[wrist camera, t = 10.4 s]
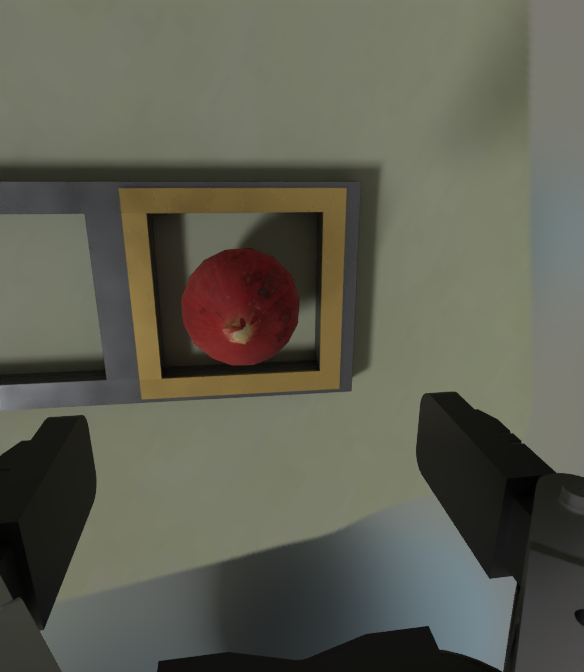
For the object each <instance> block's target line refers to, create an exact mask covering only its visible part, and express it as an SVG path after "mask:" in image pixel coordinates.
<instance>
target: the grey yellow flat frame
mask: <svg viewBox="0 0 584 672" xmlns="http://www.w3.org/2000/svg"><path fill="white" fill-rule="evenodd" d="M360 192H361V182H355V181H0V214H85V221H86V228H87V236H88V243H89V251H90V258H91V266H92V273H93V281H94V288H95V296H96V303H97V311H98V318H99V326H100V333H101V341H102V348H103V356H104V363H105V370H99V371H77V372H56V373H34V374H13V375H0V411H1V410H19V409H38V408H56V407H74V406H92V405H110V404H128V403H147V402H165V401H183V400H201V399H219V398H237V397H256V396H274V395H292V394H310V393H328V392H346V391H351V390H352V368H353V346H354V324H355V302H356V280H357V258H358V236H359V214H360ZM255 212H317V266H316V321H315V360H314V361H292V362H271V363H257V364H255V365H230V364H228V365H206V366H185V367H165V358H164V347H163V336H162V325H161V314H160V303H159V292H158V281H157V269H156V258H155V247H154V236H153V225H152V214H151V213H255Z"/></svg>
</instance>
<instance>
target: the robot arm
mask: <svg viewBox="0 0 584 672" xmlns="http://www.w3.org/2000/svg"><path fill="white" fill-rule="evenodd" d="M416 457H417V463H418V467H419V470H420V472H421V474H422V476H423V477H424V479H425V480H426V482H427V483H428V485H429V486H430V488H431V490H432V491H433V493H434V494H435V496H436V497H437V499H438V500H439V501H440V503H441V505H442V506H443V508H444V509H445V511H446V513H447V514H448V516H449V517H450V519H451V520H452V522H453V523H454V525H455V526H456V528H457V529H458V531H459V533H460V534H461V536H462V537H463V538H464V540H465V542H466V543H467V545H468V546H469V548H470V549H471V551H472V552H473V554H474V556H475V557H476V559H477V560H478V562H479V563H480V565H481V566H482V568H483V569H484V571H485V572H486V574H487V575H488V577H489V578H490V579H491V578H499V577H508V576H513V577H514V579H515V580H516V581H517V585H516V590H515V595H514V601H513V609H512V615H511V623H510V629H509V635H508V642H507V649H506V656H505V663H504V670H503V672H584V477H581V476H577V475H573V474H565V473H556V472H555V471H554V470H553V469H552V468H550V467H549V466H548V465H547V464H546V463H545V462H544V461H543V460H542V459H541V458H539V457H538V456H537V455H536V454H535V453H534V452H533V451H532V450H531V449H530V448H528V447H527V446H526V445H525V444H522V443H521V440H520V439H519V438H517V437H516V436H515V435H514V434H513V433H512V434H511V433H510V430H509V429H508V428H506V427H505V426H504V425H503V424H502V423H501V422H500V421H499V420H498V419H496V418H494V417H492V416H490V415H488V414H486V413H484V412H482V411H480V410H478V409H477V410H475V409H474V408H473V407H472V406H470V405H469V404H468V403H467V402H466V401H465V400H464V399H463V398H462V397H461V396H460V395H459V394H458V393H457V392H439V393H426V394H424V395H423V396H422V399H421V403H420V413H419V424H418V434H417V445H416ZM95 495H96V471H95V464H94V458H93V452H92V446H91V440H90V434H89V428H88V423H87V420H86V418H85V416H83V415H77V416H61V417H48V418H47V419H46V420H45V421H44V422H43V424H42V425H41V427H40V428H39V429H38V431H37V432H36V434H35V435H34V436H33V438H32V439H31V440H28V441H21V442H19V443H18V444H17V445H15V446H14V447H12V448H11V449H9V450H8V451H6V452H5V453H3V454H2V455H1V456H0V672H62V671H61V669H60V668H59V666H58V664H57V662H56V660H55V658H54V657H53V655H52V653H51V651H50V649H49V647H48V646H47V644H46V642H45V640H44V638H43V636H42V635H41V633H40V631H39V630H44V628H45V626H46V623H47V620H48V618H49V615H50V613H51V610H52V608H53V605H54V603H55V600H56V597H57V595H58V592H59V590H60V587H61V585H62V582H63V579H64V577H65V574H66V572H67V569H68V567H69V564H70V562H71V559H72V556H73V554H74V551H75V549H76V546H77V544H78V541H79V539H80V536H81V533H82V531H83V528H84V526H85V523H86V521H87V518H88V516H89V513H90V510H91V508H92V505H93V503H94V499H95ZM157 672H502V671H500V670H498V669H497V668H494V667H492V666H490V665H488V664H486V663H484V662H482V661H479V660H477V659H474V658H471V657H468V656H465V655H462V654H458V653H454V652H450V651H446V650H439V648H438V646H437V644H436V642H435V639H434V637H433V635H432V633H431V631H430V628H429V626H425V627H418V628H409V629H402V630H394V631H387V632H379V633H371V634H365V635H363V636H360V637H358V638H355V639H353V640H351V641H348V642H346V643H343V644H341V645H338V646H336V647H334V648H331V649H329V650H326V651H324V652H322V653H319V654H317V655H314V656H312V657H309V658H307V659H304V660H289V659H282V658H273V657H264V656H256V655H249V654H240V653H232V652H225V653H218V654H210V655H203V656H195V657H187V658H179V659H172V660H164V661H159V662H158V670H157Z"/></svg>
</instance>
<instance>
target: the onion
mask: <svg viewBox="0 0 584 672" xmlns="http://www.w3.org/2000/svg"><path fill="white" fill-rule="evenodd" d="M181 306H182V316H183V323H184V326H185V328H186V330H187V332H188V333H189V335H190V337H191V339H192V340H193V342H194V344H195V345H196V346H198V347H199V348H200V349H201V350H203V351H204V352H205V353H206V354H207V355H209V356H210V357H211V358H213V359H216V360H218V361H221V362H224V363H227V364H230V365H255V364H257V363H260V362H262V361H265V360H267V359H269V358H272V357H273V356H274V355H275V354H276V353H277V352H278V351H280V350H281V349H282V348H283V347H284V346H285V345H286V344H287V343H288V341H289V339H290V338H291V336H292V334H293V332H294V330H295V328H296V326H297V324H298V313H299V296H298V293H297V290H296V287H295V284H294V281H293V278H292V275H291V274H290V273H289V272H288V271H287V270H286V269H285V268H284V267H283V266H282V265H281V264H280V263H279V262H278V261H277V260H276V259H275V258H274V257H272V256H270V255H267V254H264V253H262V252H259V251H256V250H254V249H251V248H242V249H230V250H224V251H222V252H220V253H218V254H216V255H214V256H212V257H210V258H208V259H206V260H204V261H203V262H202V263H201V264H200V266H199V267H198V268H197V269H196V270H195V271H194V272H193V274H192V275H191V276H190V277H189V279H188V282H187V285H186V287H185V290H184V293H183V295H182V298H181Z"/></svg>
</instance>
